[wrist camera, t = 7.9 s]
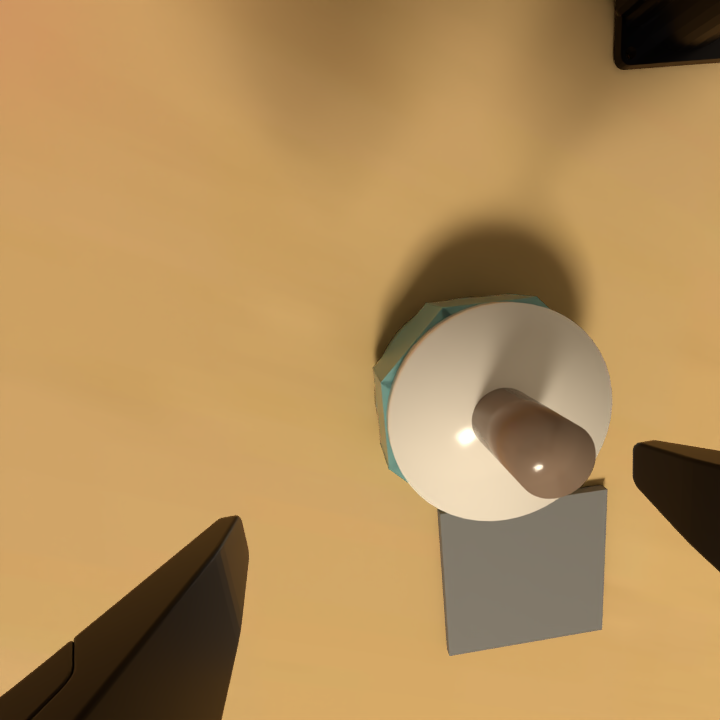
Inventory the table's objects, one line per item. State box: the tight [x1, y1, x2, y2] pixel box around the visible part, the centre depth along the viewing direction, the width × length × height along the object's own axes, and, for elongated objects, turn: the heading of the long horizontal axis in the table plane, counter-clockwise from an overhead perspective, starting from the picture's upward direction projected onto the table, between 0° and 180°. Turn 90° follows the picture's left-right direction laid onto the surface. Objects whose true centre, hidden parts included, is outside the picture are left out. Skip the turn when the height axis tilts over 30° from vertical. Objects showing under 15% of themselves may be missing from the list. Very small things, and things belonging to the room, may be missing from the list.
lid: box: [386, 301, 612, 521], centre depth 15 cm, size 10×10×5 cm
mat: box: [438, 485, 607, 656], centre depth 24 cm, size 10×10×1 cm
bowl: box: [373, 294, 551, 482], centre depth 20 cm, size 10×10×4 cm
